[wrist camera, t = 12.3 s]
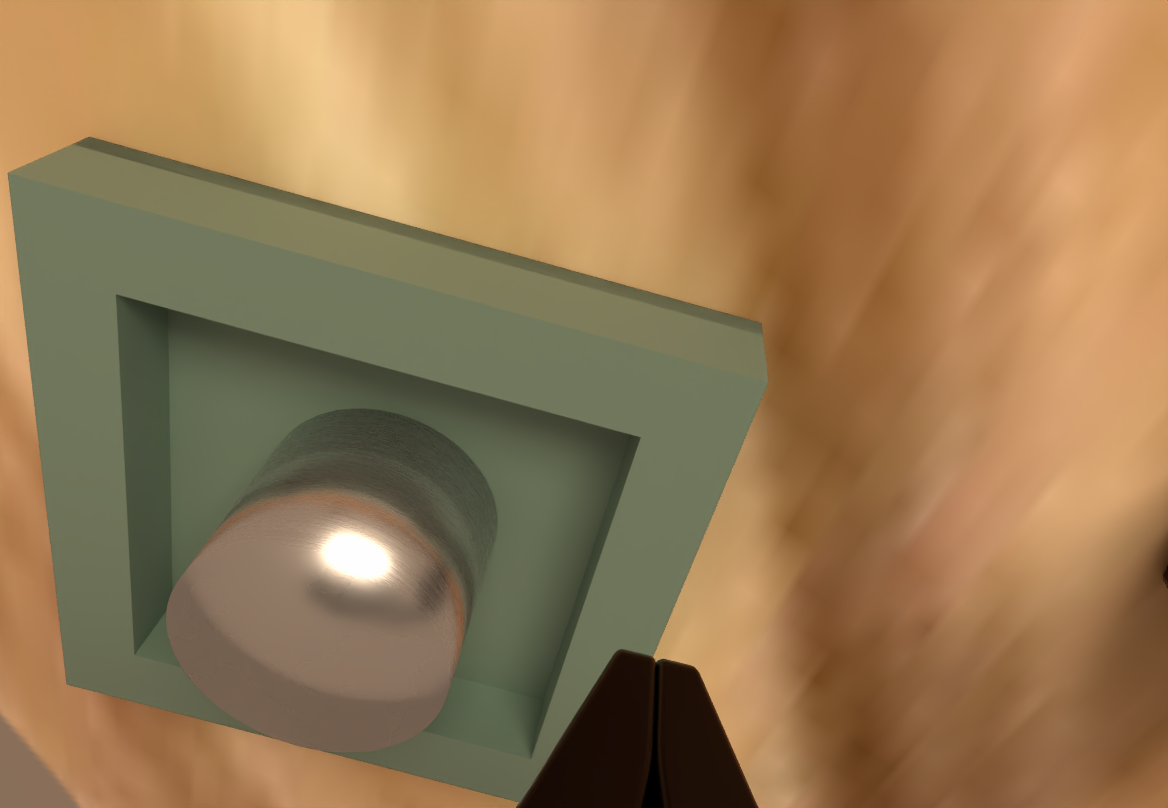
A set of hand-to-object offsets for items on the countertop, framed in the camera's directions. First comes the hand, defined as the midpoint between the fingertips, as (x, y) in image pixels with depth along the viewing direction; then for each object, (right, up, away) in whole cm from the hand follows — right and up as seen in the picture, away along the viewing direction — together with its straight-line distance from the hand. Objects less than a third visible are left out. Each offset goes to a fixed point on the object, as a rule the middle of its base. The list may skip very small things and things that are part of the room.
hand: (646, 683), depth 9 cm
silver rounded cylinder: (-6, 0, +14) cm, 15 cm away
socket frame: (-6, 0, +14) cm, 15 cm away
